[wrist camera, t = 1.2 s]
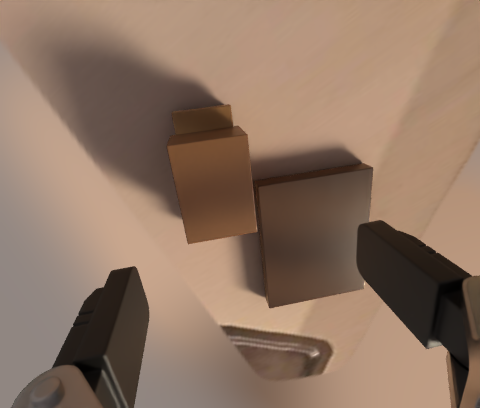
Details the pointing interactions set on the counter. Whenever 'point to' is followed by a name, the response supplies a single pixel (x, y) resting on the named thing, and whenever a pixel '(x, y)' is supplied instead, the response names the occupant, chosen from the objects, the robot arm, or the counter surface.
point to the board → (312, 232)
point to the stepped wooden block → (212, 174)
